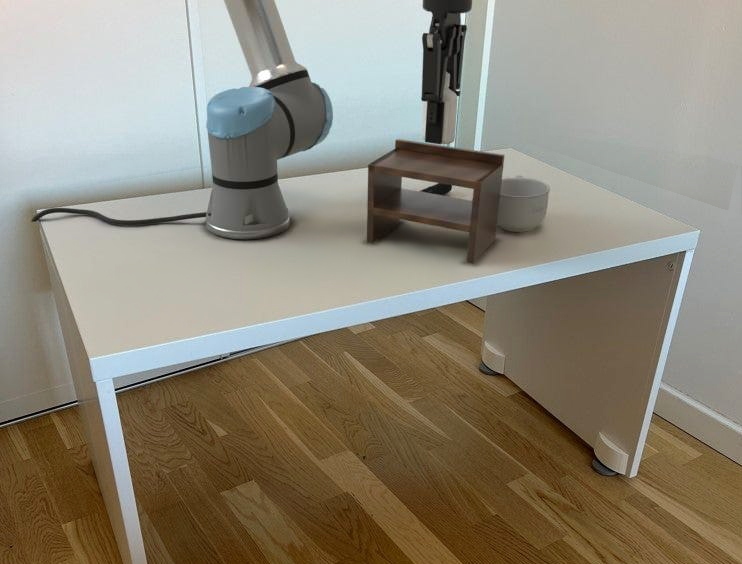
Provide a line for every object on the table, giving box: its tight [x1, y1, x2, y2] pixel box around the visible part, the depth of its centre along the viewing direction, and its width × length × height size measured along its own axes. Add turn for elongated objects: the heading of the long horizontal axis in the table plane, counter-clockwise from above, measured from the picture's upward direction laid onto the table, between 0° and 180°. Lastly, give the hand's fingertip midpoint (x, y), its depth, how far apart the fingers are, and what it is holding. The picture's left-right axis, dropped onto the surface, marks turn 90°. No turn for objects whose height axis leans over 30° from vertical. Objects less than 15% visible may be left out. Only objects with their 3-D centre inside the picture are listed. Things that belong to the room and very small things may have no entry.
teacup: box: [497, 175, 551, 233], centre depth 142 cm, size 14×11×8 cm
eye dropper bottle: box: [421, 72, 458, 145], centre depth 123 cm, size 4×6×12 cm
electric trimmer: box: [419, 183, 453, 196], centre depth 152 cm, size 4×16×3 cm, turn 142°
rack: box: [366, 138, 506, 265], centre depth 131 cm, size 20×12×16 cm, turn 64°
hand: (438, 139), depth 126 cm, fingers closed on eye dropper bottle, 4 cm apart
